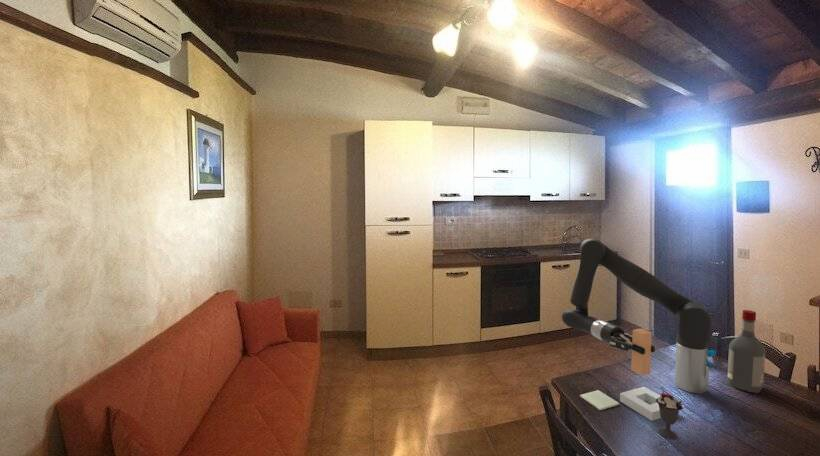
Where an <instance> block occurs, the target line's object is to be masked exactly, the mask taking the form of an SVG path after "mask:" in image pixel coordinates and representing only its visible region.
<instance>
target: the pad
mask: <svg viewBox="0 0 820 456" xmlns="http://www.w3.org/2000/svg"><path fill="white" fill-rule="evenodd" d="M579 397H580V398H582V399H583V400H585V401H586V402H587V403H589V404H590V405H591V406H593V407H594V408H596V409H597V410H599V411H602V410H606V409H610V408H612V407H616V406H619V405H620V403H619V401H616V400H615V399H613V398H612V397H610V396H608V395H607V394H606V393H604V392H602V390H601V391H600V390H599V389H597V390H594V391H589V392H586V393H583V394H580V395H579Z"/></svg>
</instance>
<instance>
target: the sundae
mask: <svg viewBox="0 0 820 456" xmlns="http://www.w3.org/2000/svg"><path fill="white" fill-rule="evenodd" d="M660 389H661V390H662V393H660V397H659V398H657V399H656V402H657V403H658V404H659V410H660V417H661V418H660V419H661V420H662V421H663V422H664V423H665V427H660V428H658V429H657V432H658V433H659V434H660V435H661V436H662V437H664V438H666V439H671V440H674V439H677V438H679V437H678V434H677V433H676V432H675V431H673V430H672V429H671V425H674V424H676V423H677V420H678V417H679V416H678V415H679V412H680V411H681V410H684V407H683V405H682V401H683V400H680V401H679V402H678V401H677V399H676V398H675V397H674V396H673V395H672V394H669V393H667V391H666V390H665V389H664V387H662V386H661V387H660Z"/></svg>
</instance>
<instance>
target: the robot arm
mask: <svg viewBox="0 0 820 456" xmlns="http://www.w3.org/2000/svg"><path fill="white" fill-rule="evenodd" d="M579 247H580V248H579V249H580V250H579V253H580V262H579V267H578V268H579V269H578V271H577V272H578V273H577V276H576V279H575V280H574V284H573V288H572V291H571V294H570V300H569V302H570V303H571V305H573V306H575V309H567V310H565V311H563V312H562V314H561V319H562V322H563V323H564V325H566V326H567V327H569V328H571V329H575V330H578V331H582V332H585V333H586V334H589V335H592V336H593V337H595V338H596V339H598V340H600V341H603V342H605V343H606V344H609V346H610V347H613V348H617V349H619V350H622V351H624V352H628V351H631V352H632V351H636V352H638V353H640V354H642V355H644V354H645V348H643V347H640V346H638V345H636V344H633V343H632V335H631V334H630V333H628V332H627V333H626V332H624V329H623V328H622V327H621V326H618V325H615V324H613V323H610V322H608V321H605V320H602V319H598V318H597V317H594V316H590V315H589V300H590V296H591V293H592V288H593V283H594V278H595V275H596V273H597V272H596V271H597V269H598V267H599V265H600V266H602V267H604V268H606V269H607V270H608V271H609V272H610V273H612V274H613V276H614V277H616V279H618V280H619V281H620V282H621V283H623V285H625V286H626V287H627V288H630V289H631V290H633V292H636V293H637V294H639V295H641V296H642V297H645V298H646V299H649V300H651V301H654V302H655V303H658V304H660V306H663V307H664V308H665V309H667V310H668V311H669V312H670V313H672V314H673V315H674V316H675V317H676V318H678V321H679V322H678V333H677V335H676V340H675V341H676V343H675V344H676V346H675V347H676V348H675V365H674V367H675V369H674V385H675V386H676V387H677V388H679V389H681V390H683V391H685V392H689V393H692V394H703V393H705V392H708V390H709V375H710V366H708V365H707V358H708V357H707V350H708V344H709V342H710V338H711V325H712V320H711V316H710V314H709V313H708V311H707V310H706V309H705V308H704V307H703V306H702V305H700V304H699V303H697V302H695V301H694V300H691V299H689V298H688V297H686V296H683V295H682V294H680V293H678V292H676V291H674V290H673V289H672V288H671V287H670V286H668V285H667V284H666V283H664V282H663V281H662V280H660V279H659V278H657V277H656V276H654V275H653V274H652V273H650V272H649V271H647V270H646V269H644V268H643V267H641V266H639V265H637V264H635V263H634V262H632V261H630V260H628V259H626V258H624V257H622V256H620V255H619V254H617V253H616V252H614V251H613V250H612V249H611V248H609V247H608V246H607V245H606V244H604V243H603V242H602V241H601V240H599V238H598V239H597V238H593V237H590V238H589V237H588V238H586V239H585V240H583V241H582V242H581V244H580V246H579ZM655 351H656V347H655V345H652V344H651V353H654V352H655Z"/></svg>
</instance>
